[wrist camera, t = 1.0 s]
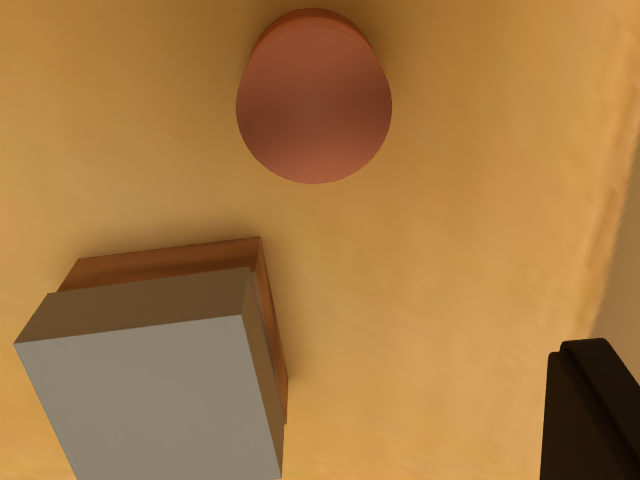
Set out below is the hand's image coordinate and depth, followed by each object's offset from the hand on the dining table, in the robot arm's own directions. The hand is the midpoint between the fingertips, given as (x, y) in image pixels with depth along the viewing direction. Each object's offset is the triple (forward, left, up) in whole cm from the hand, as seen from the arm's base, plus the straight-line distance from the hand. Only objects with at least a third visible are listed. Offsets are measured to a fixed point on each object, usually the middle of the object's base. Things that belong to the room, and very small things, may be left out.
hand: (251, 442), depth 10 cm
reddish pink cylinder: (0, +1, -22) cm, 22 cm away
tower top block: (+12, -8, -19) cm, 24 cm away
